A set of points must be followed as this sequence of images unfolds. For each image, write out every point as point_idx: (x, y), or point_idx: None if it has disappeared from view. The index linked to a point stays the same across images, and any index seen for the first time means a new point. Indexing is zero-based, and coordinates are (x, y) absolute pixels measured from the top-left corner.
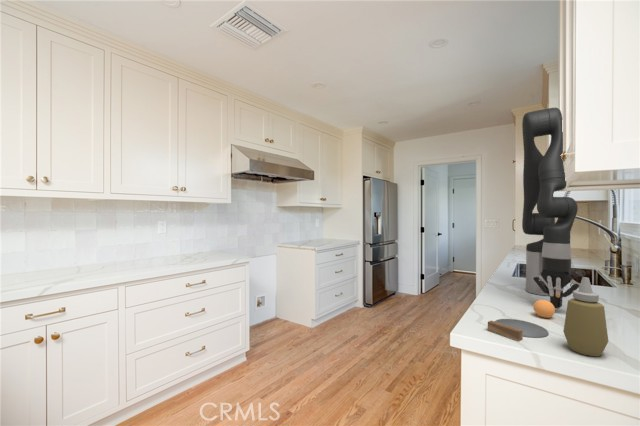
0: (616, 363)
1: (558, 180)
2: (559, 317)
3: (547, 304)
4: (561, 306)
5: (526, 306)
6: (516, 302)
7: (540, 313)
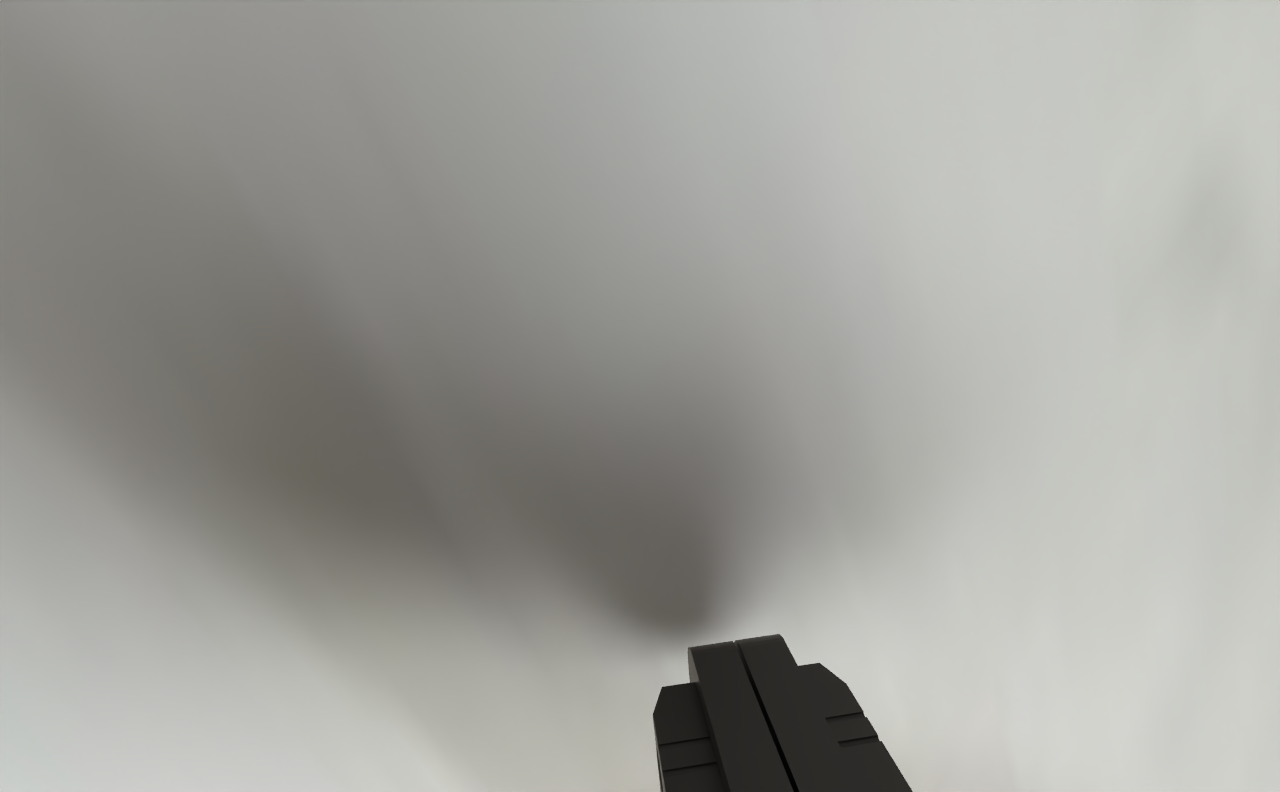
0: None
1: None
2: None
3: None
4: (823, 668)
5: (278, 746)
6: (4, 692)
7: None
